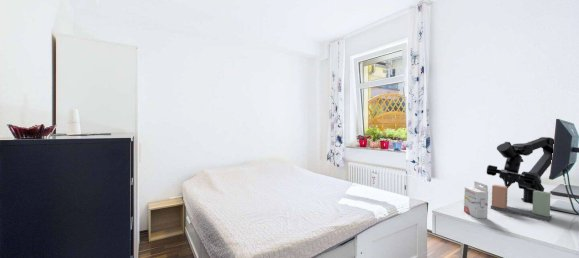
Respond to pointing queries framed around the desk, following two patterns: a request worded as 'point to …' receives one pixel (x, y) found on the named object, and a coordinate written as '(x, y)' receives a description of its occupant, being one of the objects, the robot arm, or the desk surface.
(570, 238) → the desk surface
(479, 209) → the ink cartridge box
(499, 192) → the peach button block
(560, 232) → the desk surface
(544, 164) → the robot arm
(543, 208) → the pale green block
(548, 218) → the grey flat slab
